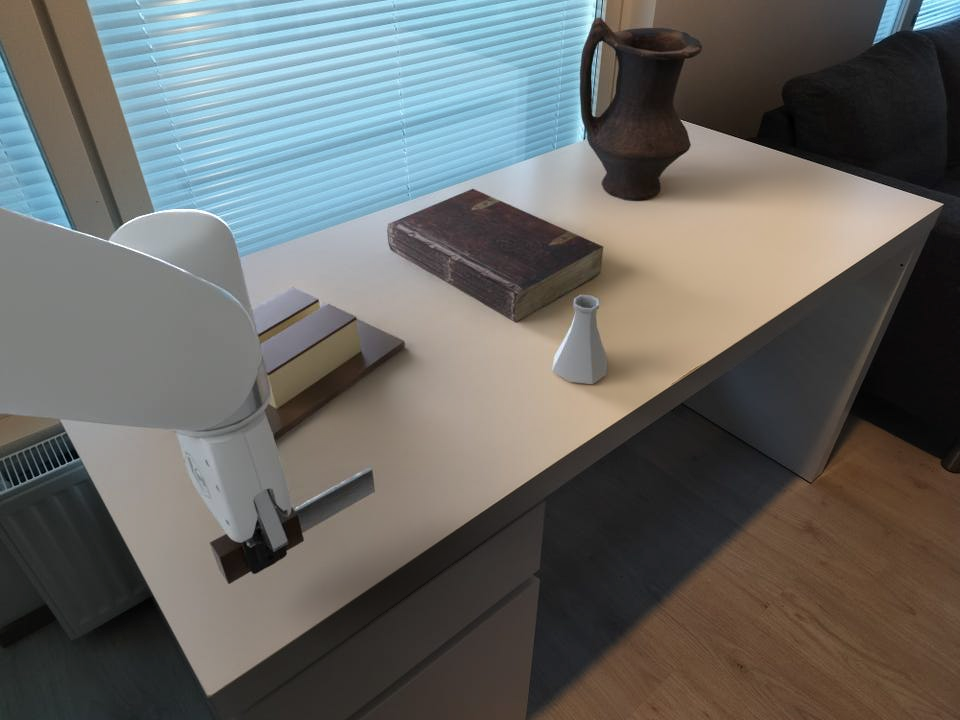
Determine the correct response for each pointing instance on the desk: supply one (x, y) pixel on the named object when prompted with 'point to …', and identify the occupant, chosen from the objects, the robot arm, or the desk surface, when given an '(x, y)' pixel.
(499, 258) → the hardback book
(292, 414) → the cake board
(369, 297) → the desk surface
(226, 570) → the knife
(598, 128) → the jug
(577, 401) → the desk surface
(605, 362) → the flask
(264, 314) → the cake
